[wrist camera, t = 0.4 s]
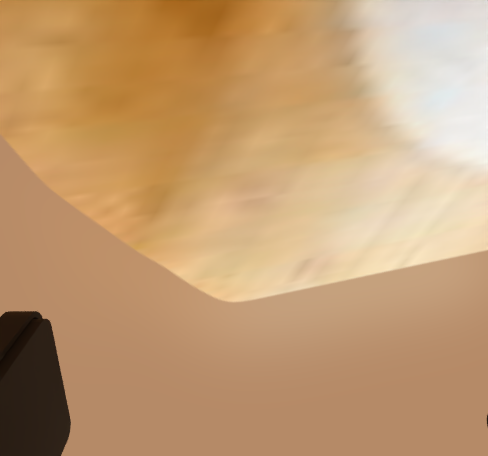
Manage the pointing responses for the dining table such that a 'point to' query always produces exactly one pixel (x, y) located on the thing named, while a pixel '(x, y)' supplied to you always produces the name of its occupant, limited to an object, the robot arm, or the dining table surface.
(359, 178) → the dining table surface
